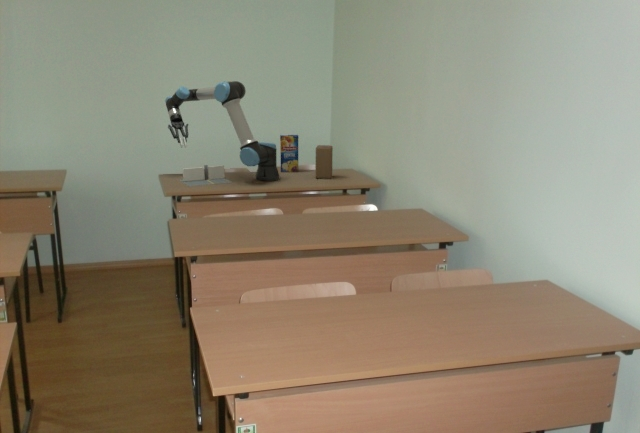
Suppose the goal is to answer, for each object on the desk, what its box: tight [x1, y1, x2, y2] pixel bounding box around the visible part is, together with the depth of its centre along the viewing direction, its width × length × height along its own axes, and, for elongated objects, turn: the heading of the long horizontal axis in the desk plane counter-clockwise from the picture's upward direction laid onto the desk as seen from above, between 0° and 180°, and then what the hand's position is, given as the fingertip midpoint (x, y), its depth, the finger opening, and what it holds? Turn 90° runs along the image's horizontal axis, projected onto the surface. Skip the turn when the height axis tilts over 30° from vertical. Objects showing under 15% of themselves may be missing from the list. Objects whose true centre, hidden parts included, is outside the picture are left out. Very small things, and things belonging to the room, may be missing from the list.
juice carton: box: [279, 134, 299, 173], centre depth 420 cm, size 12×8×24 cm, turn 94°
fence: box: [203, 164, 225, 180], centre depth 391 cm, size 12×2×9 cm, turn 117°
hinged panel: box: [182, 166, 205, 181], centre depth 385 cm, size 13×1×8 cm, turn 117°
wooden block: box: [315, 144, 334, 180], centre depth 400 cm, size 10×10×20 cm
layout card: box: [179, 177, 233, 187], centre depth 386 cm, size 27×22×1 cm
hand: (183, 146), depth 393 cm, fingers open, 2 cm apart
